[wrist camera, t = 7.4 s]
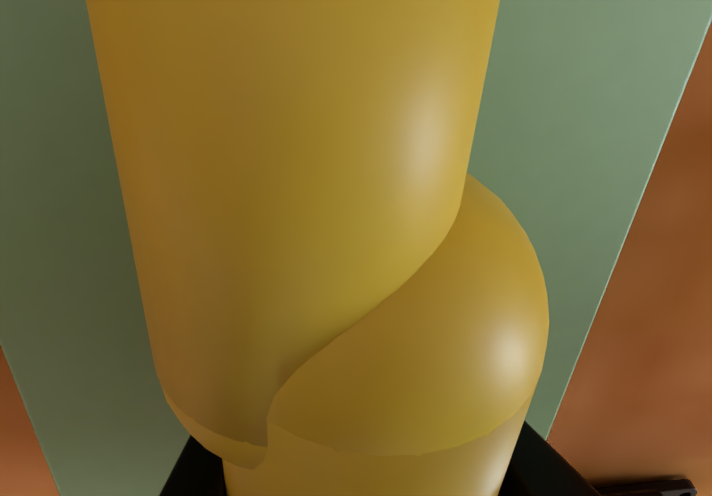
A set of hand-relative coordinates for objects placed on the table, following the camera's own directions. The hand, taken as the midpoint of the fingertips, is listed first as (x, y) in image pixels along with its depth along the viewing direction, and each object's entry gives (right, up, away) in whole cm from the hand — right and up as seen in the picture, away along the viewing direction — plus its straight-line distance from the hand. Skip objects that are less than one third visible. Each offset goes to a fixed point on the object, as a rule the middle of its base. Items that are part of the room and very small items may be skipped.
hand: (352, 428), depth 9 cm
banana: (0, +1, +1) cm, 1 cm away
